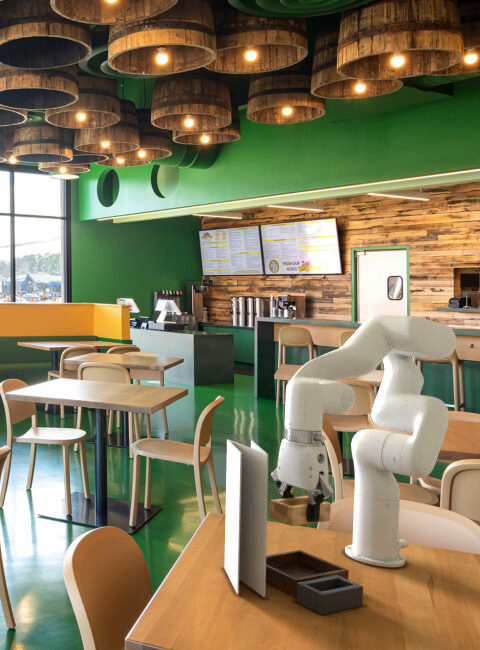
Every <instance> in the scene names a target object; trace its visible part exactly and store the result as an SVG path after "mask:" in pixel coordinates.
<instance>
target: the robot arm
mask: <svg viewBox="0 0 480 650" xmlns="http://www.w3.org/2000/svg"><path fill="white" fill-rule="evenodd" d="M456 348H457V336H456V333H455V332H454V330H453V329H452V328H451V327H450V326H449V325H447V324H445V323H441V322H439V321H435V320H432V319H427V318H424V317H420V316H413V315H389V314H388V315H387V314H385V315H384V314H383V315H382V314H381V315H380V314H379V315H374V316H371V317H369V318H367V319H366V320H365V321H364V322H363V323H361V324H360V326H359V328H357V329H356V331H355V332H354V333H352V335H351V336H350V338H348V339H347V341H345V342H344V344H343V345H342V346H341V347H339V348H336V349H334V350H331V351H329V352H327V353H324V354H322V355H319V356H316V357H315V358H313V359H311V360H308V361H307V362H306V363H305V364H303V365H302V366H301V367H300V368H299V369H298V370H297V371H296V373H294V374H293V376H292V377H291V379H290V380H289V381H288V382H287V384H286V388H285V407H284V409H285V410H284V432H283V433H284V434H283V436H284V437H283V438H282V440H281V443H280V447H279V452H278V459H277V468H276V469H275V470H273V471H272V472H271V473H270V476H271V478H272V479H273V481H274V483H275V485H276V487H277V489H278V494H279V495H280V496H281V498H280V499H283V498H292V497H295V496H294V493H293V490H294V488H298V489H301V490H305V491H306V493H307V496H308V498H309V501H310V503H308V504H307V521H308V522H316V521H319V517H320V504H322V503H323V501H326V500H327V499H328V498H330V497H331V496H332V495H333V494H334V493H335V490H334V488H332V486H331V484H330V483H329V461H328V454H327V448H326V445H323V443H322V442H324V443H325V441H326V439H327V438H326V436H325V435H323V417H324V416H323V415H324V414H330V415H331V414H332V415H342V414H343V415H344V414H346V413H348V412H349V411H350V410H352V409H353V407H354V405H355V403H356V393H355V391H354V389H353V388H352V387H351V386H350V385H349V384H348V383H346V382H343V381H339V380H347V379H353V378H359V377H362V376H366V375H370V374H371V373H373V372H374V371H375V370H376V369H377V368H378V366H379V365H380V364H381V363H382V362H383V367H384V374H383V377H382V381H381V383H380V387H379V389H378V392H377V394H376V397H375V400H374V403H373V406H372V410H371V419H372V421H373V423H375V424H376V425H377V426H379V427H381V428H384V429H388V430H391V431H388V430H383V429H377V428H366V429H362V430H359V431H358V432H356V433H355V434H354V435H353V437H352V440H351V456H352V461H353V467H354V468H353V469H354V497H353V520H352V521H353V525H352V526H353V527H352V544H348V545H347V546H345V548H344V549H345V550H344V553H345V554H346V555H347V557H349V558H351V559H352V560H355V561H357V562H361V563H363V564H367V565H371V566H375V567H381V568H401V567H403V566H405V565H406V558H405V557H404V556H403V555H402V554H400V550H401V549H406V548H408V547H409V543H408V541H407V540H405V539H399V526H400V504H401V503H400V502H401V501H400V500H401V489H400V486H399V483H398V480H397V479H396V477H395V476H394V474H398V475H402V476H405V477H406V476H407V477H411V478H414V479H415V478H416V479H422V478H423V479H424V478H426V477H428V476H429V475H430V474H431V473H432V472H433V470H434V468H435V465H436V463H437V460H438V457H439V454H440V452H441V448H442V445H443V442H444V440H445V437H446V433H447V430H448V428H449V427H448V426H449V422H450V415H449V409H448V407H447V405H446V403H445V402H444V401H443V400H442V399H440V398H439V397H438V398H437V397H436V396H432V395H425V394H424V395H423V394H421V392H422V390H423V386H424V382H425V379H424V375H423V374H422V371H421V370H420V367H418V365H417V364H416V363H415V361H414V360H413V358H423V359H435V360H444V359H446V358H449V357H450V356H452V354H453V353H454V352H455V350H456ZM394 431H397V432H394ZM399 432H403V433H399ZM404 433H408V434H404ZM409 433H410V434H412V435H410V434H409ZM321 491H322V492H321Z"/></svg>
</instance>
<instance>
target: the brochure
mask: <svg viewBox="0 0 480 650" xmlns="http://www.w3.org/2000/svg"><path fill="white" fill-rule="evenodd" d="M225 479H226V480H225V484H226V485H225V520H224V521H225V523H224V526H225V527H224V566H223V567H224V570H225V572H226V574H227V577H228V579H229V581H230V583H231V585H232V587H233V588H234V591H235V593H236V595H238V596H239V595H240V581H241V582H242V583H244V584H245V585H247V586H248V587H249V588H251V589H252V590H253V591H255V592H256V593H257V594H259V595H260V596H261V597H262V598H266V584H267V583H266V556H267V535H268V533H267V531H268V530H267V529H268V493H269V491H268V489H269V487H268V485H269V453H267V452H266V451H265V450H264V449H263V448H262V447H261V446H259V444H257V443H256V442H255V441H254V440H251V441H250V447H249V446H247V445H244V444H241V443H239V442H237V441H234V440H231V439H226V475H225Z"/></svg>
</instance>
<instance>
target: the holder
mask: <svg viewBox="0 0 480 650" xmlns="http://www.w3.org/2000/svg"><path fill="white" fill-rule="evenodd" d="M349 571H350V570H349V569H348V568H345V567H343V566H340V565H338V564H335V563H332V562H331V561H328V560H325V559H323V558H321V557H318V556H316V555H313V554H311V553H309V552H306V551H304V550H301V549H297V550H292V551H285V552H280V553H273V554H266V583H265V584H268V585H270V586H273V587H275V588H277V589H278V590H281V591H283V592H285V593H287V594H289V595H291V596H293V597H295V598H297V583H300V582H305V581H310V580H315V579H320V578H325V577H330V576H335V575H338V576H340V577H343V578H345V579H347V580H349V576H350V575H349V574H350V572H349Z"/></svg>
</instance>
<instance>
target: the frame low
mask: <svg viewBox="0 0 480 650" xmlns="http://www.w3.org/2000/svg"><path fill="white" fill-rule="evenodd" d="M295 598H296V599H295V600H296V601H295V602H296V603H298V604H299V605H302V606H304V607H306V608H307V609H310V610H312V611H314V612H316V613H317V614H319V615H326V614H331V613H336V612H340V611H344V610H345V611H346V610H348V609H353V608H357V607H361V606H363V605H364V604H363V603H364V586H363V585H361V584H359V583H356V582H354V581H351V580H349V579H348V580H347V579H345V578H343V577H340V576H338V575H335V576H330V577H325V578H320V579H315V580H310V581H305V582H300V583H297V597H295Z"/></svg>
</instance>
